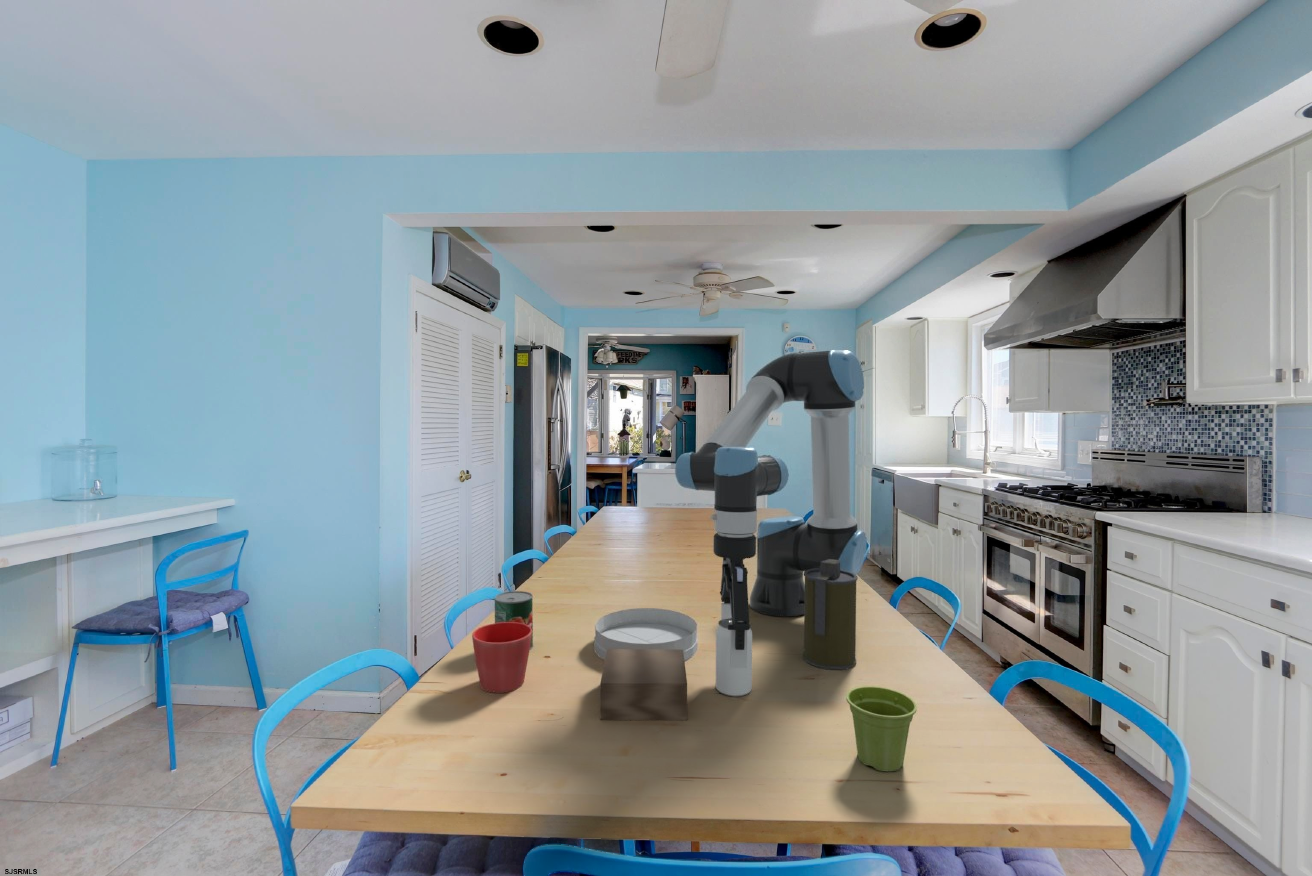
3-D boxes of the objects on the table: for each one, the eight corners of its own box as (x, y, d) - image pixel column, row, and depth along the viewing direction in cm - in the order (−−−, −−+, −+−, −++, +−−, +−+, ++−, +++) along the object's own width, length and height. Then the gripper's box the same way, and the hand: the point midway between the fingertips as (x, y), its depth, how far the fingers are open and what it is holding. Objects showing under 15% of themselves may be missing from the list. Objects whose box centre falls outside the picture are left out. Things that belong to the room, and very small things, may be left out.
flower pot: (543, 675, 112) (543, 624, 112) (511, 701, 102) (511, 646, 101) (495, 667, 116) (495, 618, 115) (459, 692, 105) (459, 638, 105)
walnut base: (682, 681, 110) (683, 649, 110) (687, 720, 96) (687, 683, 96) (607, 681, 110) (607, 649, 110) (600, 719, 96) (600, 683, 96)
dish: (719, 646, 127) (719, 623, 127) (647, 680, 111) (647, 653, 111) (644, 622, 142) (644, 601, 142) (572, 648, 126) (572, 625, 126)
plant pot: (835, 743, 89) (836, 686, 89) (895, 740, 90) (896, 684, 90) (862, 781, 80) (863, 718, 80) (929, 778, 81) (930, 715, 80)
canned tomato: (505, 639, 130) (504, 589, 130) (538, 642, 129) (538, 592, 128) (487, 653, 123) (487, 600, 122) (523, 656, 121) (523, 603, 121)
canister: (813, 645, 127) (814, 553, 127) (862, 657, 121) (864, 560, 121) (793, 662, 118) (795, 563, 118) (846, 676, 112) (847, 571, 112)
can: (750, 682, 110) (751, 617, 109) (752, 698, 103) (753, 630, 103) (715, 680, 110) (715, 616, 110) (715, 696, 104) (715, 628, 103)
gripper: (707, 521, 118) (705, 627, 119) (721, 547, 93) (719, 681, 94) (745, 522, 118) (743, 627, 119) (769, 548, 93) (767, 681, 94)
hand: (732, 651), depth 106 cm, fingers open, 13 cm apart
